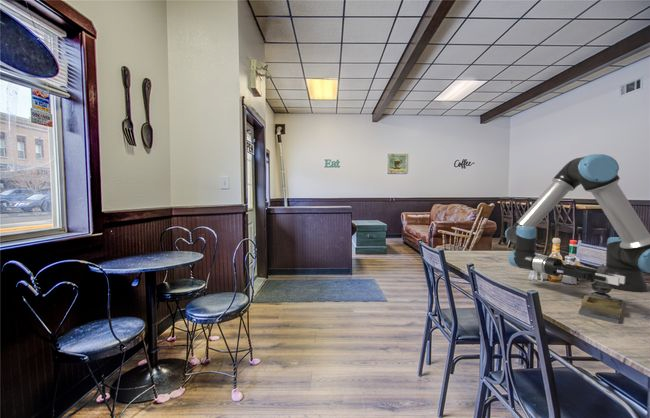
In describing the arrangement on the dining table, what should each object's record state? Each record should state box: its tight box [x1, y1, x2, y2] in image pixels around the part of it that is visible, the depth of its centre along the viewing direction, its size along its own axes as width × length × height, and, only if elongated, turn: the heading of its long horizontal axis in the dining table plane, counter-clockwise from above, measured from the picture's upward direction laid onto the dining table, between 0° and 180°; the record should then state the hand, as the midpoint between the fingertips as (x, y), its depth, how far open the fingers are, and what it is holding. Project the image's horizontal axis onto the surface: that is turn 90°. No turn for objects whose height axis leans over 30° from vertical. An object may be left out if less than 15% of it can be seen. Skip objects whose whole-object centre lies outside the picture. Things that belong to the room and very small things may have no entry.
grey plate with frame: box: [578, 293, 624, 325], centre depth 107 cm, size 26×10×2 cm, turn 132°
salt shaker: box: [590, 263, 613, 298], centre depth 107 cm, size 6×6×12 cm
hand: (621, 280), depth 102 cm, fingers closed on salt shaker, 3 cm apart
